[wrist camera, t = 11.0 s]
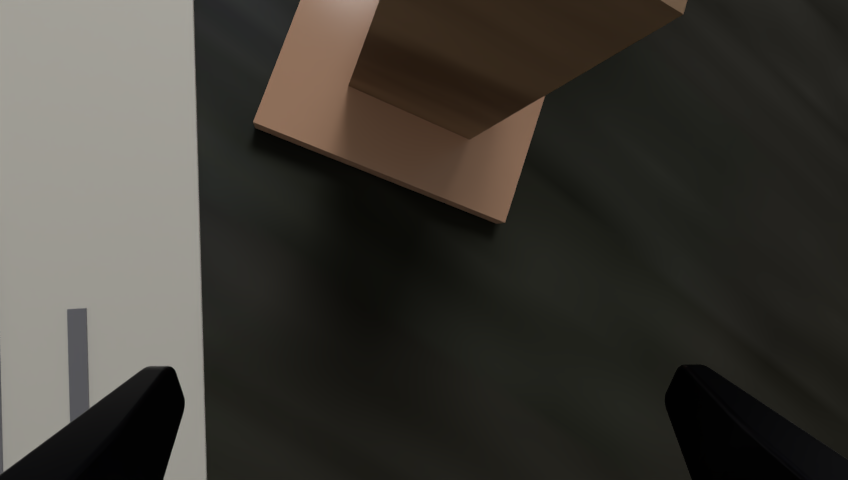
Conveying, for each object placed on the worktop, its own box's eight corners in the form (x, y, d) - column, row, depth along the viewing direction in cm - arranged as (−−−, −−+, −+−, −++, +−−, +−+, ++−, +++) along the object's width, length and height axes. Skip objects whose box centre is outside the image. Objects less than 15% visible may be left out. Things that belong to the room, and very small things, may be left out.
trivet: (496, 223, 19) (504, 222, 18) (255, 127, 16) (253, 122, 15) (563, 10, 20) (574, 0, 19) (348, -113, 17) (350, -130, 16)
